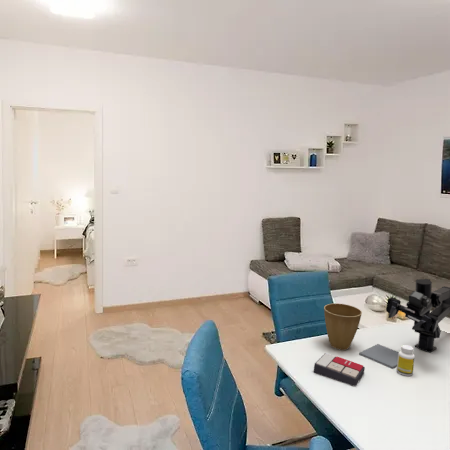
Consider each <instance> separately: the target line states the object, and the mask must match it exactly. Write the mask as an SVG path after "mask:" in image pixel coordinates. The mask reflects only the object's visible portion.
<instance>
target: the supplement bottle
mask: <svg viewBox="0 0 450 450" xmlns="http://www.w3.org/2000/svg"><path fill="white" fill-rule="evenodd" d="M398 352H399V353H398V362H397V367H396V372H397V373H398V374H399V375H401V376H407V377H411V376H412V375H413V373H414V366H415V365H414V364H415V359H416V358H415V354H414V347H413V346H411V345H408V344H403V345H401V346H400V350H399V351H398Z"/></svg>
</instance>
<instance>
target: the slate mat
mask: <svg viewBox="0 0 450 450" xmlns="http://www.w3.org/2000/svg"><path fill="white" fill-rule="evenodd" d="M398 353H399V351H397V350H394V349H392V348H389V347H387V346H384V345H383V344H382V345H381V344H379V343H377V344H375V345H373V346H371V347H369V348H366V349H364V350H362V351H359V356H362V357H364V358H365V359H366V358H367V359H369V360H371V361H373V362H376V363H378V364H380V365H382V366H385V367H388V368H389V369H393V370H394V369H395V368H397V362H398Z"/></svg>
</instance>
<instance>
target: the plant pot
mask: <svg viewBox="0 0 450 450" xmlns="http://www.w3.org/2000/svg"><path fill="white" fill-rule="evenodd" d="M323 312H324V320H325V327H326V334H327V337H328V341H329V344H330V346H331V348H334V349H335V348H336V350H339V349H340V350H341V351H345V350H348V349H349V348H350V346H351V345H352V343H353V340H354V339H355V335H356V333H357V331H358V328H359V325H360V321H361V318H362V313H363V312H362V310H361V309H359V308H358V307H356V306H353V305H350V304H345V303H340V302H339V303H337V302H336V303H335V302H334V303H329V304H326V305H324V307H323ZM340 350H339V351H340Z"/></svg>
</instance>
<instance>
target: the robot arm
mask: <svg viewBox="0 0 450 450" xmlns="http://www.w3.org/2000/svg"><path fill="white" fill-rule="evenodd" d="M432 286H433V282H432V281H431V279H429V278H420V279H416V280H415V290H413V291H412V292H411V293H410V294H409V296H408V302H406V304H405V306H404V304H403V305H402V304H401V300H400V299H398V298H396V297H394V296H391V297H389V298H388V299H387V303H386V308H385V310H386V312H387V313H388V319H390V318H391V319H392V318H393V317H396V315H398V313H399V311H400V312H401V313H404V314H405V317H406V318H407V319H409V320H412V321H413V326H412V330H413V331H414V333H418V334H419V335H418V343H417V344H415V345H414V348H417V349H420V350H422V351H425V352H427V353H432V352H434V351H435V350H437V346H434V345H435V339H440V336H441V333H442V330H441V328H440V325H439V323H440V322H441V321H443V320H444V318H446V317H447V316H448V315H449V314H450V286H442V287H441V288H438V289H435V290H433V289H432ZM432 308H433V310H432V311H431V309H432Z"/></svg>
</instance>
